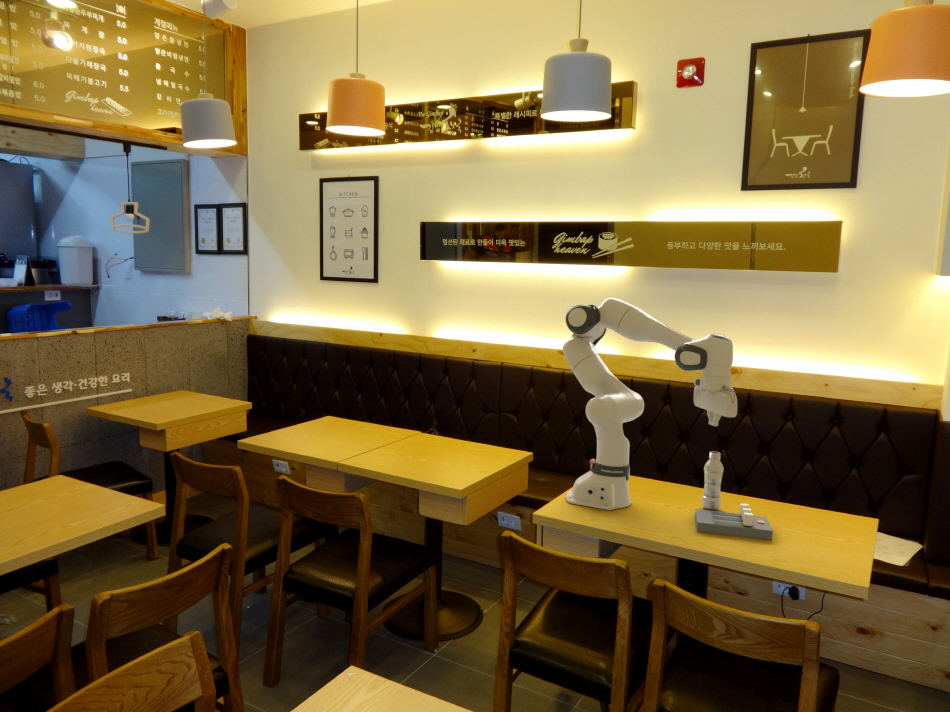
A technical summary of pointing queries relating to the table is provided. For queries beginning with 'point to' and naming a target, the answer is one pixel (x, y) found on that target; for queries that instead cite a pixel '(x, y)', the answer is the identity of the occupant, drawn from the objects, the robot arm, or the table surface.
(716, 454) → the plastic bottle
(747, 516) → the block
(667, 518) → the table surface
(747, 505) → the block
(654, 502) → the table surface
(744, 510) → the block
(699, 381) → the robot arm
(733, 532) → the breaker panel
